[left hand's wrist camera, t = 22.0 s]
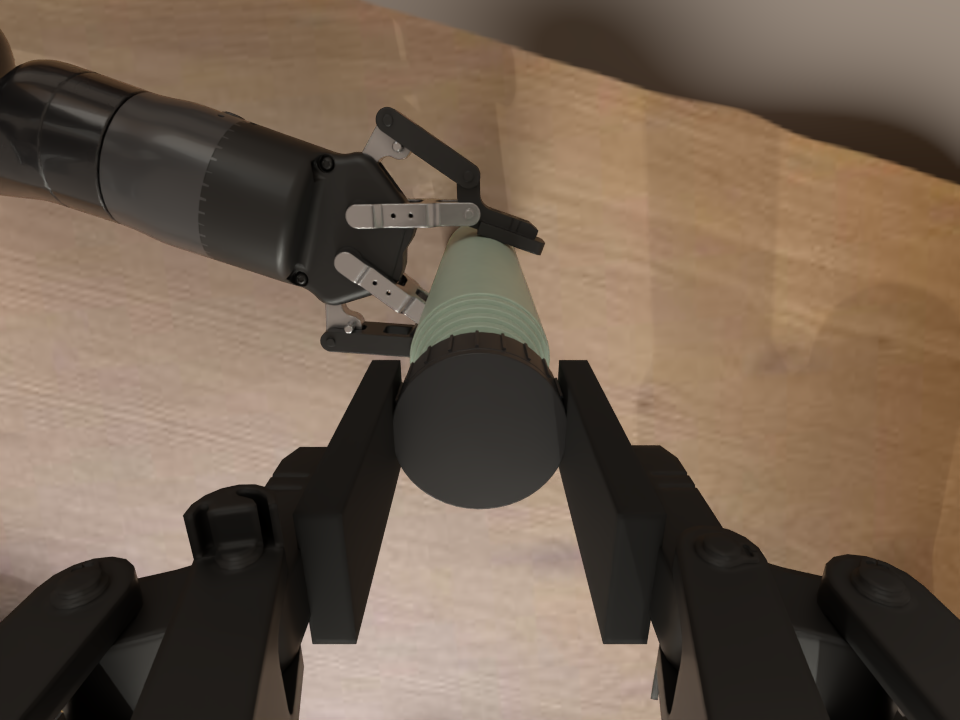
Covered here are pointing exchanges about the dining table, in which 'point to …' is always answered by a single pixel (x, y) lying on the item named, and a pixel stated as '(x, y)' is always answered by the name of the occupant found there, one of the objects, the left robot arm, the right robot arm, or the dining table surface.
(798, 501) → the dining table surface
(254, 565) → the left robot arm
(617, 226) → the dining table surface
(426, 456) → the cap
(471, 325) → the bottle
